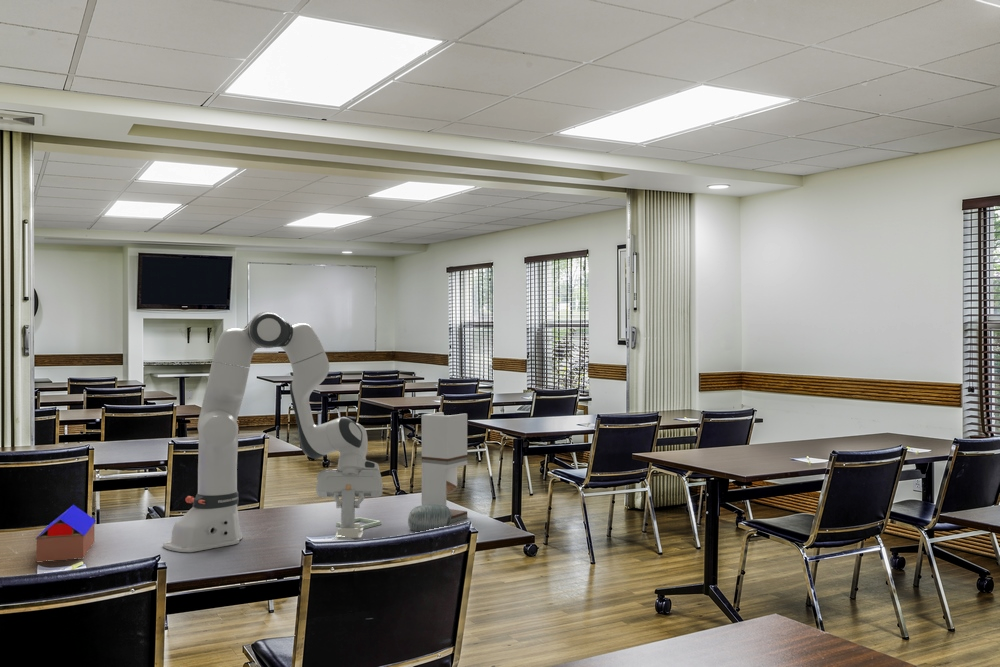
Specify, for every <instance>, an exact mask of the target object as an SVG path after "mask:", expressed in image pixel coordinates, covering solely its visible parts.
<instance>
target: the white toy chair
mask: <svg viewBox="0 0 1000 667" xmlns="http://www.w3.org/2000/svg"><path fill="white" fill-rule="evenodd" d="M360 526H361V523H360V522H355V526H354V528H341V524H340V527H338V528H337V531H336V533H335V535H334V537H336V536H337V535H342V536H345V537H348V539H352V538H353V539H355V538H358V539H359V538H362V536H363V534H364V530H365V529H364V527H363V528H361V529H360Z"/></svg>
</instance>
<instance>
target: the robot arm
mask: <svg viewBox="0 0 1000 667" xmlns="http://www.w3.org/2000/svg"><path fill="white" fill-rule="evenodd" d="M272 348H281V349H282V350H283V351H284V352H285V354H286V356H287V358H288V360H289V363H290V365H291V368H292V375H293V376H292V381H291V382H290V384H289V391H290V392H289V393H290V398H291V403H292V407H293V411H294V416H295V420H296V424H297V429H298V434H299V445H300V448H301V451H302V452H303V454H304V455H305V456H307V457H309V458H311V459H312V460H313V459H314V460H318V459H320V458H322V457H325V456H327V455H329V454H332V453H335V452H339V457H338V460H337V468H336V469H332V468H331V469H322V470H320V471H319V472H318V473H317V475H316V480H317V483H316V486H315V493H316V495H317V497H318V498H333V500H334V502H335V504H336V505H335V506H336V509H341V500H339V498H342V489H346V484H351V489H355V498H358V499H357V500H355V504H354V508H355V509H360V505H361V504H362V503H363V501H364V500H365V498H380V497H381V496H382V495H383V479H382V475H381V472H380V471H381V470H380V466H379V463H377V462H375V461H370V460H367V457H366V456H367V455H368V446H369V444H368V443H369V442H368V434H367V430H366V428H365V427H364V426H363V425H361V424H360V423H356V422H355V421H353V420H352V419H350V418H349V417H346V416H341V417H337V418H334V419H331V420H330V421H327V422H324V423H320V424H318V425H316V424H315V421H314V417H313V413H312V408H311V405H310V396H311V394H312V393H313V391H314V390H315V389H316V388H317V387H319V386H320V385H321V384H322V383H323V382H324V381H325V379H326V378H327V377H328V375H329V372H330V362H329V359H328V355H327V353H326V351H325V349H324V346H323V344H322V342H321V340H320V339H319V337H318V335H317V333H316V332H315V330H314V328H313V327H312V326H311V325H310V324H308V323H303V322H302V323H301V322H299V323H295V324H291V323H290V322H288V321H286V320H285V318H283V317H282V316H280V315H279V314H277V313H275V312H271V311H264V312H263V311H262V312H260V313H257V314H256V315H254V316H253V317H252V318H251V320H250V321H249V322H248V324H246V326H244V327H243V328H237V327H232V328H228V329H225V330H223V331H222V333H221V334H220V336H219V338H218V341H217V343H216V346H215V348H214V352H213V355H212V360H211V366H210V369H209V374H208V379H207V384H206V388H205V392H204V395H203V400H202V404H201V409H200V412H199V416H198V420H197V431H198V451H197V452H198V456H197V459H198V461H197V462H198V463H197V493H196V495H195V497H194V496H191V495H187V496H186V497H185V502H186V504H192V507H191V508H190V509H189V510H188V511H187V512H185V514H184V515H183V516H181V517H180V518H179V520H178V521H176V522H175V523H174V524H173V528H172V530H171V539H170V540H167V541H164V542H162V547H163V548H164V549H166V550H169V551H173V552H177V553H178V552H180V553H194V552H200V551H204V550H210V549H216V548H221V547H227V546H232V545H237V544H239V543H240V540H242V539H243V533H242V530H241V526H240V522H239V521H240V520H239V512H238V511H239V510H238V507H239V491H238V470H237V469H238V453H239V448H238V447H239V424H238V417H239V413H240V409H241V405H242V403H243V399H244V396H245V392H246V387H247V382H248V378H249V372H250V367H251V362H252V359H253V356H254V353H255V351H256V350H257V349H272Z"/></svg>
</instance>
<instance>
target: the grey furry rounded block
mask: <svg viewBox="0 0 1000 667" xmlns="http://www.w3.org/2000/svg"><path fill="white" fill-rule="evenodd" d="M449 509H450V508H449V507H448V505H446V506H445V505H437V504H429V505H422V504H420V505H418V506H415V507H413V508H412V509H411V510H410V512H409V513H408V517H407V518H408V519H407V525H408V527H409V529H410V531H413V532H425V531H424V530H429V529H434V528H439V527H444V526H448V527H449V526H450V524H451V523H450V520H451V513H450V510H449Z"/></svg>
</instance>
